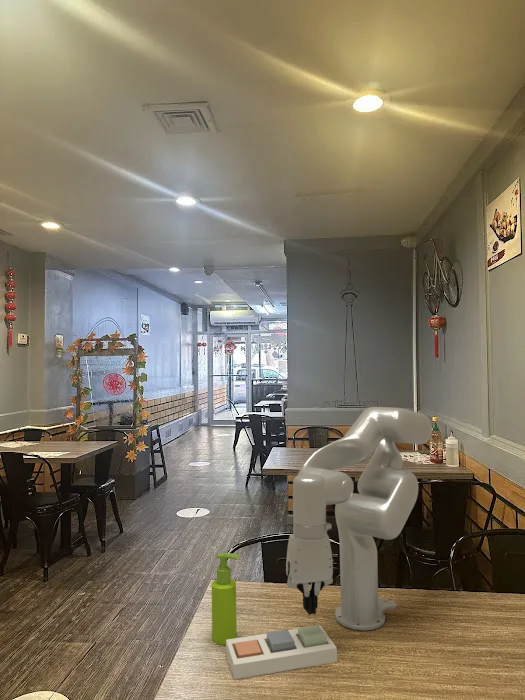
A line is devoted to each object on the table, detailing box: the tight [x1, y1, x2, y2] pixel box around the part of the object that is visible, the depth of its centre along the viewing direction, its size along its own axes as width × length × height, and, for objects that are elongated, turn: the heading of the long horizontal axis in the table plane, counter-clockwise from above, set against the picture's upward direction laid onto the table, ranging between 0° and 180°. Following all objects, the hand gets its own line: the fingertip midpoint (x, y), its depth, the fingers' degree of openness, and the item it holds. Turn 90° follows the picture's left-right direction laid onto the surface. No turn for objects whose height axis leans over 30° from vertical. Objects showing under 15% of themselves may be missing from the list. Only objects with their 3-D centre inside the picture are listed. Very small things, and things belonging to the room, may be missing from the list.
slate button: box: [266, 629, 294, 653], centre depth 111 cm, size 5×5×2 cm
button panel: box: [225, 625, 338, 680], centre depth 111 cm, size 23×10×3 cm, turn 104°
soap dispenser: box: [211, 552, 241, 646], centre depth 120 cm, size 6×7×20 cm
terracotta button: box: [234, 640, 262, 659], centre depth 109 cm, size 5×5×2 cm
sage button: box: [297, 624, 326, 648], centre depth 113 cm, size 5×5×2 cm
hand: (310, 611), depth 113 cm, fingers closed
